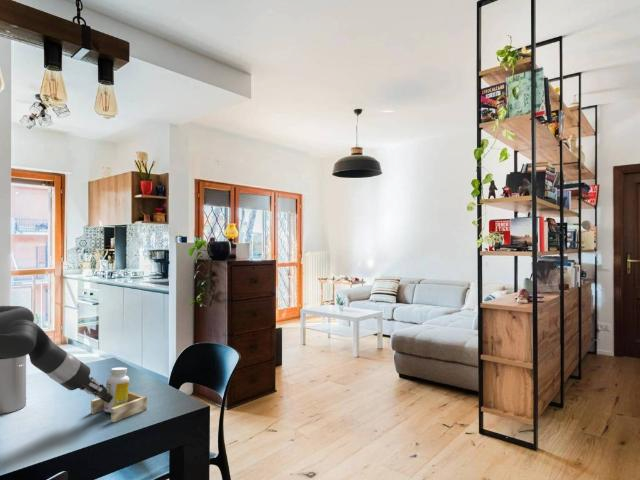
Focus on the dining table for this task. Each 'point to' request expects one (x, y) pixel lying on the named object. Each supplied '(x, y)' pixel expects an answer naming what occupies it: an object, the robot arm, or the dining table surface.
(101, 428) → the dining table surface
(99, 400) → the birch caddy
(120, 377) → the supplement bottle
